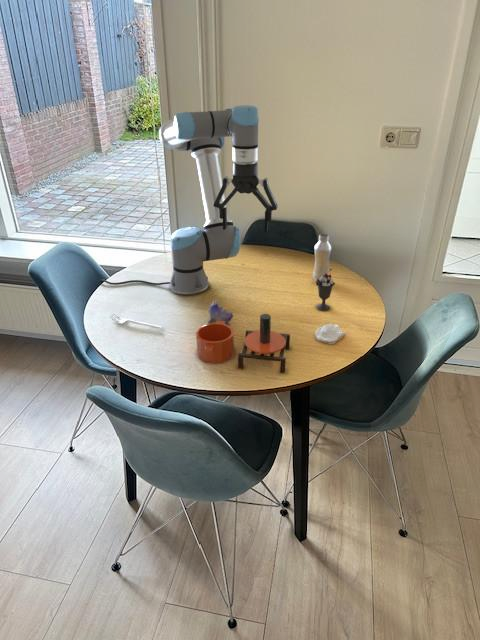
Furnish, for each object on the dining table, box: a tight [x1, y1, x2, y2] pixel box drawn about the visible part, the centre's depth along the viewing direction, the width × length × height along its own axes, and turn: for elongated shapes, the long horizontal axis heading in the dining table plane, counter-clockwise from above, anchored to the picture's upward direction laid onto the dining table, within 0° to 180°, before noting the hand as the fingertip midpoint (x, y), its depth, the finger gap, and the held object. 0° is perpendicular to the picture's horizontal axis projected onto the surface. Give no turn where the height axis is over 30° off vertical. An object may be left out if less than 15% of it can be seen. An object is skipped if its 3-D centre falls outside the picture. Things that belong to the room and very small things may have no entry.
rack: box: [237, 329, 291, 374], centre depth 146 cm, size 14×14×5 cm
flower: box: [207, 299, 234, 326], centre depth 163 cm, size 9×9×10 cm
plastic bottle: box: [311, 233, 332, 284], centre depth 188 cm, size 6×7×20 cm
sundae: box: [315, 268, 336, 312], centre depth 171 cm, size 7×7×15 cm
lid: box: [244, 313, 286, 355], centre depth 143 cm, size 12×12×10 cm
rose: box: [314, 323, 346, 345], centre depth 156 cm, size 10×4×10 cm
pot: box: [195, 321, 235, 364], centre depth 148 cm, size 11×17×8 cm
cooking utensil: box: [109, 313, 163, 330], centre depth 165 cm, size 3×20×2 cm, turn 70°
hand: (245, 229), depth 155 cm, fingers open, 13 cm apart
